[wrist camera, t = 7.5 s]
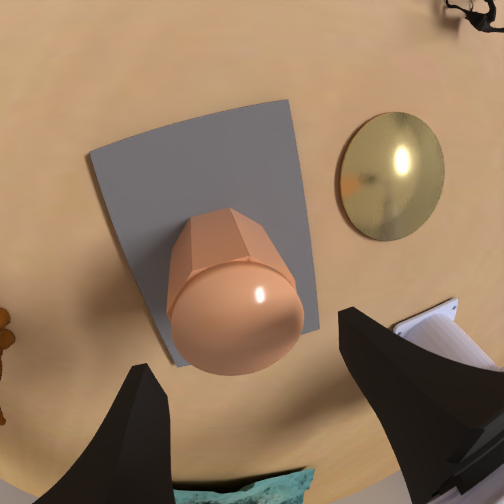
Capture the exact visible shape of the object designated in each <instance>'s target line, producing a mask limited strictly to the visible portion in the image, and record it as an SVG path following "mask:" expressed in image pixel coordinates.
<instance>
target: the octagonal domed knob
mask: <svg viewBox="0 0 504 504" xmlns="http://www.w3.org/2000/svg"><path fill="white" fill-rule="evenodd" d="M166 314H167V317H168V319H169V321H170V323H171V334H172V339H173V342H174V345H175V347H176V349H177V350H178V352H179V353H180V355H181V356H182V357H183V358H184V359H185V360H186V361H187V362H189V363H190V364H191V365H193V366H194V367H196V368H198V369H200V370H203V371H205V372H208V373H212V374H217V375H226V376H236V375H245V374H249V373H253V372H256V371H260V370H262V369H264V368H267V367H269V366H271V365H272V364H274V363H276V362H277V361H279V360H280V359H281V358H283V357H284V356H285V355H286V354H287V353H288V352H289V351H290V350H291V349H292V348H293V346H294V345H295V344H296V342H297V340H298V339H299V337H300V334H301V332H302V329H303V325H304V310H303V305H302V303H301V300H300V298H299V296H298V295H297V291H296V284H295V279H294V277H293V276H292V274H291V273H290V271H289V269H288V268H287V266H286V264H285V263H284V261H283V259H282V258H281V256H280V255H279V253H278V251H277V250H276V248H275V246H274V245H273V243H272V242H271V240H270V238H269V237H268V235H267V233H266V232H265V230H264V229H263V227H262V226H261V225H260V224H258V223H256V222H254V221H253V220H251V219H249V218H248V217H246V216H244V215H242V214H241V213H239V212H237V211H235V210H233V209H232V208H230V207H228V208H224V209H220V210H216V211H212V212H208V213H205V214H201V215H197V216H193V217H191V218H190V219H189V220H188V222H187V224H186V225H185V227H184V229H183V230H182V232H181V234H180V236H179V237H178V239H177V241H176V243H175V244H174V246H173V248H172V250H171V260H170V272H169V284H168V297H167V312H166Z"/></svg>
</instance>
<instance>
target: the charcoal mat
mask: <svg viewBox="0 0 504 504" xmlns="http://www.w3.org/2000/svg"><path fill="white" fill-rule="evenodd" d="M89 153H90V156H91V160H92V163H93V166H94V170H95V173H96V176H97V179H98V182H99V185H100V189H101V192H102V195H103V197H104V200H105V203H106V206H107V209H108V212H109V215H110V217H111V220H112V223H113V226H114V228H115V231H116V234H117V236H118V239H119V241H120V244H121V247H122V249H123V252H124V254H125V257H126V259H127V262H128V264H129V266H130V269H131V271H132V274H133V276H134V278H135V281H136V283H137V285H138V287H139V290H140V292H141V294H142V296H143V299H144V301H145V303H146V305H147V307H148V310H149V312H150V314H151V316H152V318H153V320H154V322H155V324H156V326H157V329H158V331H159V333H160V335H161V337H162V339H163V341H164V343H165V345H166V347H167V349H168V350H169V352H170V354H171V356H172V358H173V360H174V362H175V364H176V366H177V368H178V367H183V366H187V365H191V364H190V363H189V362H187V361H186V360H185V359H184V358H183V357H182V356H181V355H180V353H179V352H178V350H177V349H176V347H175V345H174V342H173V339H172V334H171V323H170V321H169V319H168V317H167V314H166V312H167V297H168V284H169V272H170V260H171V250H172V248H173V246H174V244H175V243H176V241H177V239H178V237H179V236H180V234H181V232H182V230H183V229H184V227H185V225H186V224H187V222H188V220H189V219H190V218H191V217H193V216H197V215H201V214H205V213H208V212H212V211H216V210H220V209H224V208H228V207H230V208H232V209H233V210H235V211H237V212H239V213H241V214H242V215H244V216H246V217H248V218H249V219H251V220H253V221H254V222H256V223H258V224H260V225H261V226H262V227H263V229H264V230H265V232H266V233H267V235H268V237H269V238H270V240H271V242H272V243H273V245H274V246H275V248H276V250H277V251H278V253H279V255H280V256H281V258H282V259H283V261H284V263H285V264H286V266H287V268H288V269H289V271H290V273H291V274H292V276H293V277H294V279H295V284H296V291H297V295H298V296H299V298H300V300H301V303H302V305H303V310H304V325H303V329H302V332H301V334H300V335H302V334H305V333H308V332H311V331H315V330H318V329H320V324H319V313H318V303H317V292H316V283H315V274H314V265H313V256H312V248H311V240H310V232H309V224H308V217H307V210H306V202H305V196H304V189H303V182H302V176H301V169H300V163H299V157H298V151H297V145H296V139H295V133H294V128H293V122H292V117H291V111H290V106H289V101H288V99H287V100H280V101H274V102H268V103H262V104H257V105H252V106H246V107H241V108H237V109H232V110H227V111H223V112H218V113H214V114H210V115H206V116H202V117H198V118H194V119H190V120H186V121H182V122H179V123H175V124H171V125H168V126H164V127H161V128H158V129H154V130H151V131H148V132H145V133H142V134H138V135H135V136H132V137H129V138H126V139H123V140H121V141H118V142H115V143H112V144H109V145H107V146H104V147H101V148H98V149H96V150H93V151H91V152H89Z"/></svg>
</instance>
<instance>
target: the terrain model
mask: <svg viewBox="0 0 504 504" xmlns="http://www.w3.org/2000/svg"><path fill="white" fill-rule="evenodd" d="M313 475H314V469H307V470H303V471H300V472H295V473H291V474H288V475H282V476H278V477H274V478H269V479H265V480H262V481H258V482H255V483H252V484H250V485H247V486H244V487H243V488H241V489H240V490H238V491H237V492H235V493H226V494H220V493H216V492H207V491H180V490H173V491H174V497H175V502H176V504H303V497H304V492H305V490H307V489H309V487H310V484H311V481H312V480H313Z"/></svg>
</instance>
